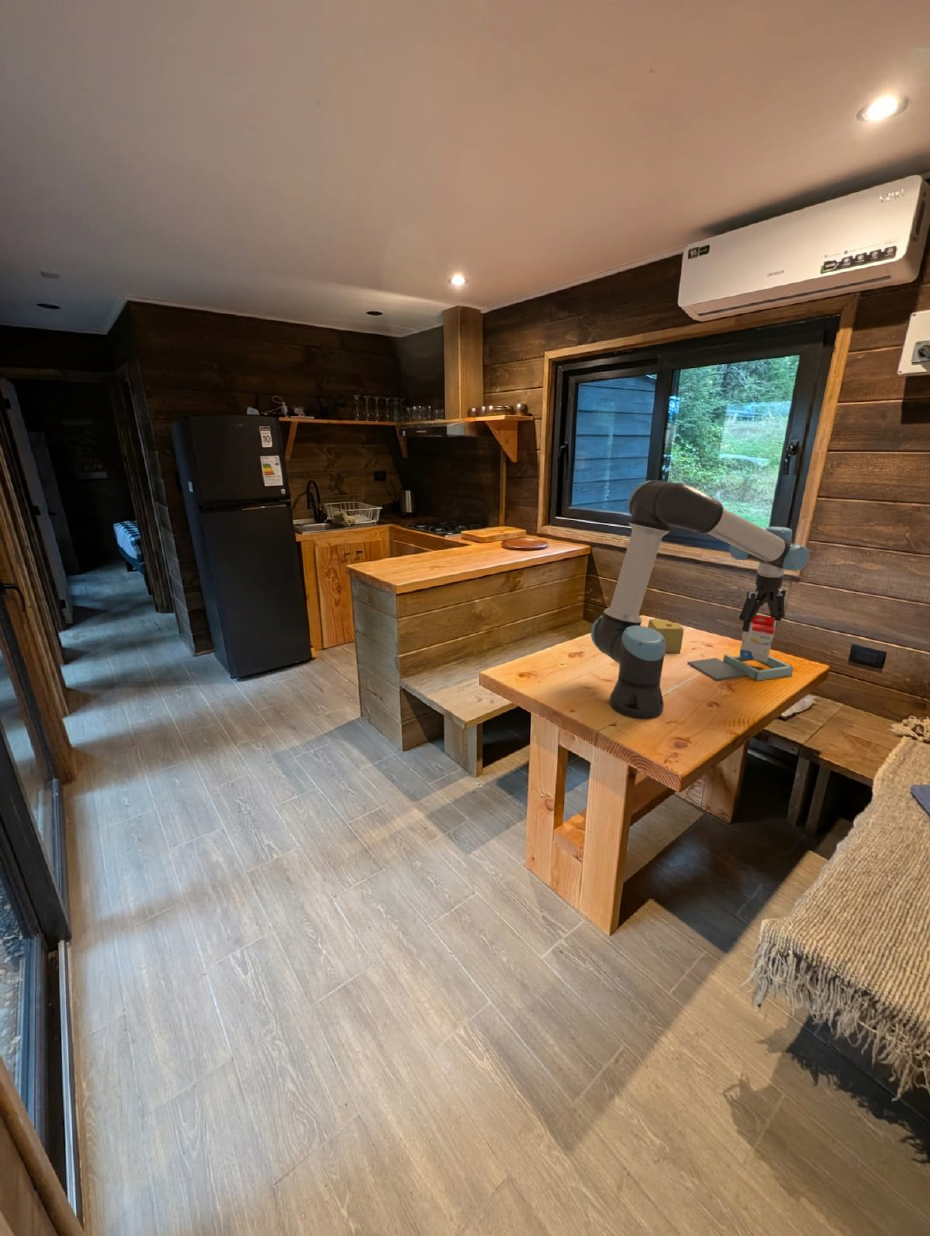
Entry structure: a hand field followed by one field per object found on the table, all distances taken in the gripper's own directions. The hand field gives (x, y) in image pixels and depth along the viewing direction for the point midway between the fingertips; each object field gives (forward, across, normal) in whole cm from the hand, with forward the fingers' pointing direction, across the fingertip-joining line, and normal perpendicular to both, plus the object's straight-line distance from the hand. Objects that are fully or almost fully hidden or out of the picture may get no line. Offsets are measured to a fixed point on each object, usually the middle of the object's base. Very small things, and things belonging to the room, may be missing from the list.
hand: (757, 638), depth 172 cm
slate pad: (+10, -14, +1) cm, 18 cm away
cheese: (+11, -19, +23) cm, 32 cm away
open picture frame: (+10, 0, -2) cm, 11 cm away
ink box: (+7, 0, 0) cm, 7 cm away
